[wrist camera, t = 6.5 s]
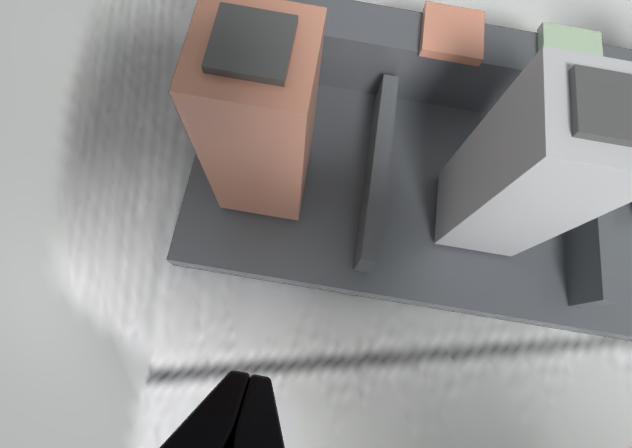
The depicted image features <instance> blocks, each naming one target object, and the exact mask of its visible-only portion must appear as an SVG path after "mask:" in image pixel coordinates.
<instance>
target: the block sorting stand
mask: <svg viewBox="0 0 632 448" xmlns="http://www.w3.org/2000/svg"><path fill="white" fill-rule="evenodd" d="M286 1H292V2H298V3H303V4H309V5H315V6H320V7H326V8H327V14H326V23H325V31H324V40H323V49H322V58H321V66H320V75H319V84H318V92H317V101H316V110H315V119H314V127H313V136H312V145H311V153H310V158H309V164H308V170H307V175H306V181H305V186H304V192H303V198H302V203H301V209H300V214H299V220H292V219H286V218H280V217H274V216H268V215H262V214H256V213H250V212H244V211H238V210H232V209H226V208H221V207H220V206H219V204H218V201H217V199H216V197H215V195H214V192H213V190H212V188H211V186H210V183H209V181H208V179H207V177H206V174H205V172H204V170H203V168H202V165H201V163H200V161H199V159H198V156H197V154H196V156H195V159H194V163H193V166H192V170H191V174H190V177H189V181H188V184H187V188H186V192H185V195H184V199H183V202H182V206H181V210H180V213H179V217H178V220H177V224H176V227H175V231H174V235H173V238H172V242H171V245H170V249H169V253H168V256H167V260H168V261H169V262H170V263H171V264H172V265H176V266H182V267H188V268H194V269H200V270H206V271H212V272H218V273H224V274H230V275H237V276H243V277H249V278H255V279H261V280H267V281H273V282H279V283H285V284H291V285H297V286H303V287H309V288H315V289H321V290H327V291H333V292H339V293H345V294H351V295H357V296H363V297H369V298H375V299H381V300H387V301H393V302H399V303H405V304H411V305H417V306H424V307H430V308H436V309H442V310H448V311H454V312H460V313H466V314H472V315H478V316H484V317H490V318H496V319H502V320H508V321H514V322H520V323H526V324H532V325H538V326H544V327H550V328H556V329H562V330H568V331H574V332H580V333H586V334H592V335H598V336H604V337H611V338H617V339H623V340H629V341H632V202H630V203H628V204H626V205H624V206H621V207H619V208H617V209H615V210H613V211H610V212H608V213H606V214H604V215H602V216H599V217H597V218H595V219H593V220H591V221H588V222H586V223H584V224H582V225H580V226H577V227H575V228H573V229H571V230H569V231H566V232H564V233H562V234H560V235H558V236H555V237H553V238H551V239H549V240H547V241H544V242H542V243H540V244H538V245H536V246H533V247H531V248H529V249H527V250H525V251H522V252H520V253H518V254H516V255H514V256H505V255H500V254H494V253H488V252H482V251H476V250H470V249H464V248H458V247H452V246H446V245H440V244H434V241H435V225H436V210H437V194H438V179H439V172H440V171H441V170H442V169H443V167H444V166H445V165H446V164H447V162H448V161H449V160H450V159H451V158H452V156H453V155H454V154H455V153H456V151H457V150H458V149H459V148H460V147H461V145H462V144H463V143H464V142H465V140H466V139H467V138H468V137H469V136H470V134H471V133H472V132H473V131H474V129H475V128H476V127H477V126H478V125H479V123H480V122H481V121H482V120H483V118H484V117H485V116H486V115H487V114H488V112H489V111H490V110H491V109H492V107H493V106H494V105H495V104H496V103H497V101H498V100H499V99H500V98H501V97H502V95H503V94H504V93H505V92H506V90H507V89H508V88H509V87H510V86H511V84H512V83H513V82H514V81H515V79H516V78H517V77H518V76H519V75H520V73H521V72H522V71H523V70H524V68H525V67H526V66H527V65H528V64H529V62H530V61H531V60H532V59H533V57H534V56H535V55H536V54H537V53H538V51H539V50H540V49H541V48H542V46H547V47H552V48H558V49H564V50H569V51H575V52H581V53H586V54H592V55H598V56H603V57H609V58H615V59H620V60H626V61H632V50H631V49H625V48H619V47H614V46H608V45H602V35H601V32H599V31H593V30H587V29H582V28H576V27H570V26H565V25H559V24H554V23H548V22H543V23H542V24H541V25H540V26H539V28H538V29H537V32H538V33H535V32H529V31H523V30H518V29H512V28H506V27H501V26H495V25H489V24H484V23H485V11H480V10H475V9H469V8H463V7H458V6H452V5H446V4H441V3H435V2H430V1H426V3H425V5H424V8H423V13H422V12H416V11H410V10H405V9H399V8H393V7H388V6H382V5H376V4H371V3H365V2H359V1H354V0H286Z"/></svg>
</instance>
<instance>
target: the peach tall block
mask: <svg viewBox="0 0 632 448" xmlns="http://www.w3.org/2000/svg"><path fill="white" fill-rule="evenodd" d="M326 14H327V8H326V7H320V6H315V5H309V4H303V3H298V2H292V1H286V0H198V1H197V4H196V7H195V10H194V13H193V17H192V20H191V23H190V26H189V29H188V32H187V35H186V38H185V42H184V45H183V48H182V51H181V54H180V57H179V60H178V64H177V67H176V70H175V73H174V76H173V79H172V82H171V85H170V89H169V93H170V96H171V98H172V100H173V102H174V105H175V107H176V109H177V111H178V114H179V116H180V118H181V120H182V123H183V125H184V127H185V129H186V132H187V134H188V136H189V138H190V141H191V143H192V145H193V147H194V150H195V152H196V154H197V156H198V159H199V161H200V163H201V165H202V168H203V170H204V172H205V174H206V177H207V179H208V181H209V183H210V186H211V188H212V190H213V192H214V195H215V197H216V199H217V201H218V204H219V206H220V207H221V208H226V209H232V210H238V211H244V212H250V213H256V214H262V215H268V216H274V217H280V218H286V219H292V220H299V214H300V209H301V203H302V198H303V192H304V186H305V181H306V175H307V170H308V164H309V158H310V153H311V145H312V136H313V127H314V119H315V110H316V101H317V92H318V84H319V75H320V66H321V58H322V49H323V40H324V31H325V23H326Z"/></svg>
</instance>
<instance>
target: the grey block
mask: <svg viewBox="0 0 632 448" xmlns="http://www.w3.org/2000/svg"><path fill="white" fill-rule="evenodd" d="M630 202H632V61H626V60H620V59H615V58H609V57H603V56H598V55H592V54H586V53H581V52H575V51H569V50H564V49H558V48H552V47H547V46H542V48H541V49H540V50H539V51H538V53H537V54H536V55H535V56H534V57H533V59H532V60H531V61H530V62H529V64H528V65H527V66H526V67H525V68H524V70H523V71H522V72H521V73H520V75H519V76H518V77H517V78H516V79H515V81H514V82H513V83H512V84H511V86H510V87H509V88H508V89H507V90H506V92H505V93H504V94H503V95H502V97H501V98H500V99H499V100H498V101H497V103H496V104H495V105H494V106H493V107H492V109H491V110H490V111H489V112H488V114H487V115H486V116H485V117H484V118H483V120H482V121H481V122H480V123H479V125H478V126H477V127H476V128H475V129H474V131H473V132H472V133H471V134H470V136H469V137H468V138H467V139H466V140H465V142H464V143H463V144H462V145H461V147H460V148H459V149H458V150H457V151H456V153H455V154H454V155H453V156H452V158H451V159H450V160H449V161H448V162H447V164H446V165H445V166H444V167H443V169H442V170H441V171H440V172H439V179H438V194H437V210H436V225H435V241H434V244H440V245H446V246H452V247H458V248H464V249H470V250H476V251H482V252H488V253H494V254H500V255H505V256H514V255H516V254H518V253H520V252H522V251H525V250H527V249H529V248H531V247H533V246H536V245H538V244H540V243H542V242H544V241H547V240H549V239H551V238H553V237H555V236H558V235H560V234H562V233H564V232H566V231H569V230H571V229H573V228H575V227H577V226H580V225H582V224H584V223H586V222H588V221H591V220H593V219H595V218H597V217H599V216H602V215H604V214H606V213H608V212H610V211H613V210H615V209H617V208H619V207H621V206H624V205H626V204H628V203H630Z"/></svg>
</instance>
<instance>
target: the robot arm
mask: <svg viewBox="0 0 632 448" xmlns="http://www.w3.org/2000/svg"><path fill="white" fill-rule="evenodd" d="M160 448H285V447H284V442H283V437H282V432H281V427H280V422H279V417H278V412H277V407H276V402H275V397H274V392H273V387H272V382H271V379H270V378H269V377H265V376H260V375H255V374H254V375H252V376H251V377H250V375H249V374H248V373H245V372H240V371H235V370H233V371H230V372H229V373H228V374H227V375H226V376H225V377H224V378H223V379H222V380H221V382H220V383H219V384H218V385H217V386H216V387H215V388H214V389H213V390H212V391H211V392H210V393H209V395H208V396H207V397H206V398H205V399H204V400H203V401H202V402H201V403H200V404H199V405H198V407H197V408H196V409H195V410H194V411H193V412H192V413H191V414H190V415H189V416H188V417H187V418H186V420H185V421H184V422H183V423H182V424H181V425H180V426H179V427H178V428H177V429H176V430H175V432H174V433H173V434H172V435H171V436H170V437H169V438H168V439H167V440H166V441H165V442H164V443H163V445H162V446H161V447H160Z"/></svg>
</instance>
